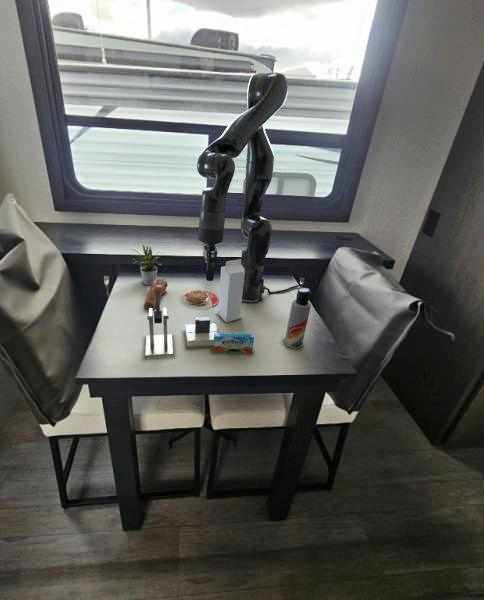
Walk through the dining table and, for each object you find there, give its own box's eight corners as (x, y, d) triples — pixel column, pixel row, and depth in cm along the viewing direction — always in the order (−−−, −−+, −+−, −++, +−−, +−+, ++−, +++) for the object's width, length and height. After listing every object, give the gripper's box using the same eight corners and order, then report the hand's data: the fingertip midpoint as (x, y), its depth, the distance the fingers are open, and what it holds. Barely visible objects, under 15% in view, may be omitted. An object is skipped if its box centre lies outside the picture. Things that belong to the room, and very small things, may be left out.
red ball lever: (152, 289, 99) (152, 283, 97) (162, 289, 100) (162, 282, 97) (152, 324, 92) (152, 318, 89) (163, 323, 92) (163, 317, 90)
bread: (168, 289, 131) (167, 277, 128) (155, 313, 114) (154, 299, 111) (153, 288, 131) (152, 276, 128) (138, 311, 114) (137, 298, 111)
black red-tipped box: (208, 329, 102) (209, 316, 99) (209, 332, 100) (210, 319, 98) (194, 330, 101) (194, 316, 98) (195, 333, 99) (195, 320, 97)
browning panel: (214, 330, 107) (215, 322, 105) (219, 346, 99) (219, 338, 98) (185, 332, 105) (185, 324, 103) (187, 348, 97) (187, 340, 96)
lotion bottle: (298, 351, 100) (311, 295, 90) (281, 344, 102) (292, 289, 93) (304, 342, 104) (316, 288, 94) (288, 336, 107) (298, 283, 97)
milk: (240, 319, 114) (246, 262, 104) (225, 322, 112) (230, 265, 101) (231, 310, 119) (236, 256, 108) (217, 314, 116) (221, 258, 105)
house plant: (125, 278, 137) (121, 242, 129) (154, 272, 145) (153, 237, 137) (138, 291, 127) (135, 253, 120) (169, 284, 135) (168, 247, 127)
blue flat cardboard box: (213, 352, 96) (214, 336, 93) (213, 349, 98) (214, 333, 95) (251, 353, 97) (254, 337, 94) (251, 350, 98) (253, 334, 96)
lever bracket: (146, 338, 100) (144, 303, 94) (171, 337, 102) (171, 302, 96) (145, 358, 92) (142, 321, 86) (173, 357, 93) (172, 320, 87)
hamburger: (218, 309, 119) (219, 295, 116) (181, 308, 118) (181, 294, 115) (217, 292, 131) (217, 279, 129) (183, 291, 130) (183, 278, 127)
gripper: (227, 232, 89) (222, 284, 96) (220, 219, 101) (216, 266, 109) (201, 231, 87) (198, 284, 95) (197, 218, 100) (194, 266, 107)
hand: (208, 274), depth 102 cm, fingers open, 8 cm apart
